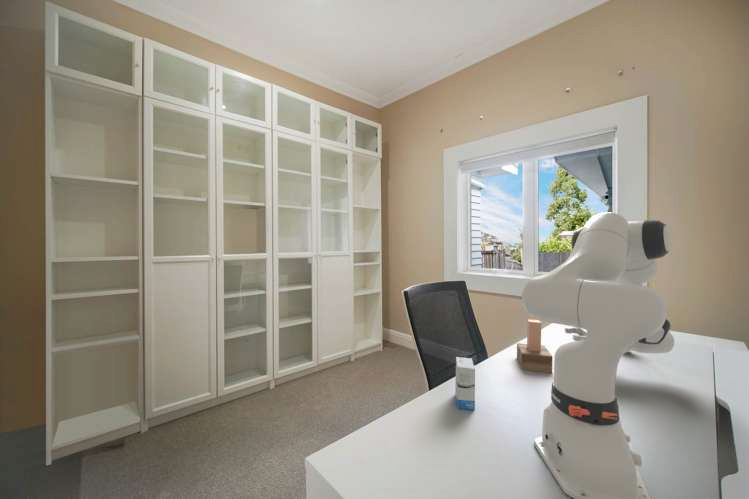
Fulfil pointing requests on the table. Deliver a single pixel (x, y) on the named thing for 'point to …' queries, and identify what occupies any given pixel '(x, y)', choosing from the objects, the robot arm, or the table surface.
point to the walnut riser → (534, 359)
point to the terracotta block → (534, 335)
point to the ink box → (465, 383)
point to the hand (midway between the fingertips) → (569, 333)
